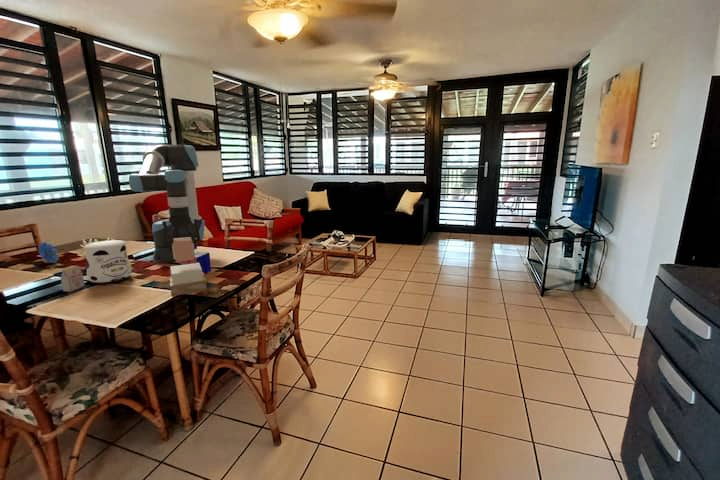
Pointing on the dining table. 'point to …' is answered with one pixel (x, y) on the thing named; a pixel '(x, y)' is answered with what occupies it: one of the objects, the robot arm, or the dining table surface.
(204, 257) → the puzzle cube
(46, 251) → the blue thick disc
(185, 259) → the terracotta block
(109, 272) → the milk container
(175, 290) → the tower base
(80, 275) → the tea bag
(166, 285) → the dining table surface
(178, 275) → the tower top
